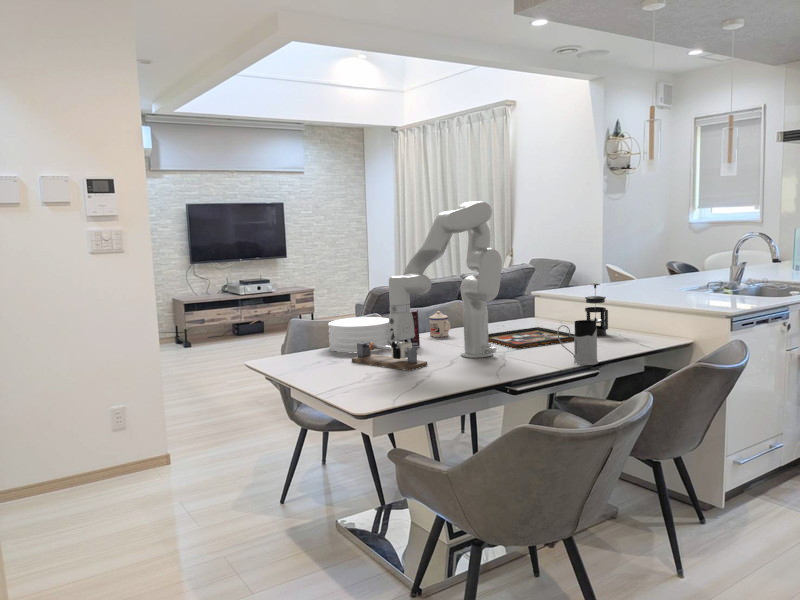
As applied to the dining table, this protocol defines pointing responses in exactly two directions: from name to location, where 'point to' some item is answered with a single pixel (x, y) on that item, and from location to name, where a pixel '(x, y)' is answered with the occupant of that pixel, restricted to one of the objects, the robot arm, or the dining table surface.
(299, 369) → the dining table surface
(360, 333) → the plate stack
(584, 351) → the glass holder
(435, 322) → the teacup with lid
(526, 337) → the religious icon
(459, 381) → the dining table surface
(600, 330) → the french press
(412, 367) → the base board
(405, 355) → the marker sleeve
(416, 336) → the supplement box
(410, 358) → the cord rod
